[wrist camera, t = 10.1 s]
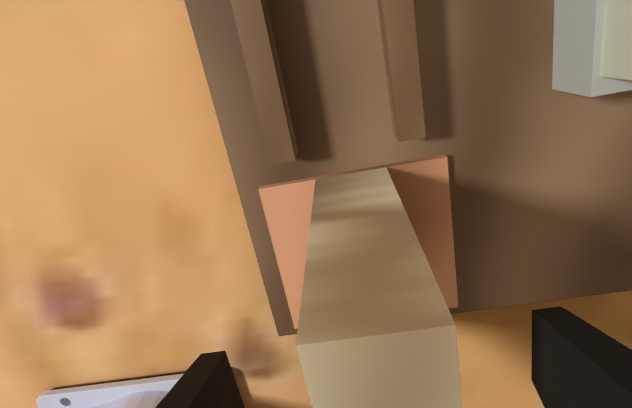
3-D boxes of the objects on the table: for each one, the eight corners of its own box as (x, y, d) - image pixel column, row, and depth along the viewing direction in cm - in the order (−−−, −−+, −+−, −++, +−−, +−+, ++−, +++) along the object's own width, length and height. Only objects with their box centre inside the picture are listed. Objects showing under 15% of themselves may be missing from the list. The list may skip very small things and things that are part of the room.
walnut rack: (281, 320, 17) (275, 357, 15) (160, -126, 12) (122, -162, 10) (677, 266, 16) (728, 300, 14) (766, -285, 10) (879, -371, 8)
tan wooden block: (344, 322, 16) (356, 572, 8) (315, 179, 14) (295, 345, 6) (405, 314, 15) (474, 565, 8) (386, 167, 13) (455, 324, 6)
